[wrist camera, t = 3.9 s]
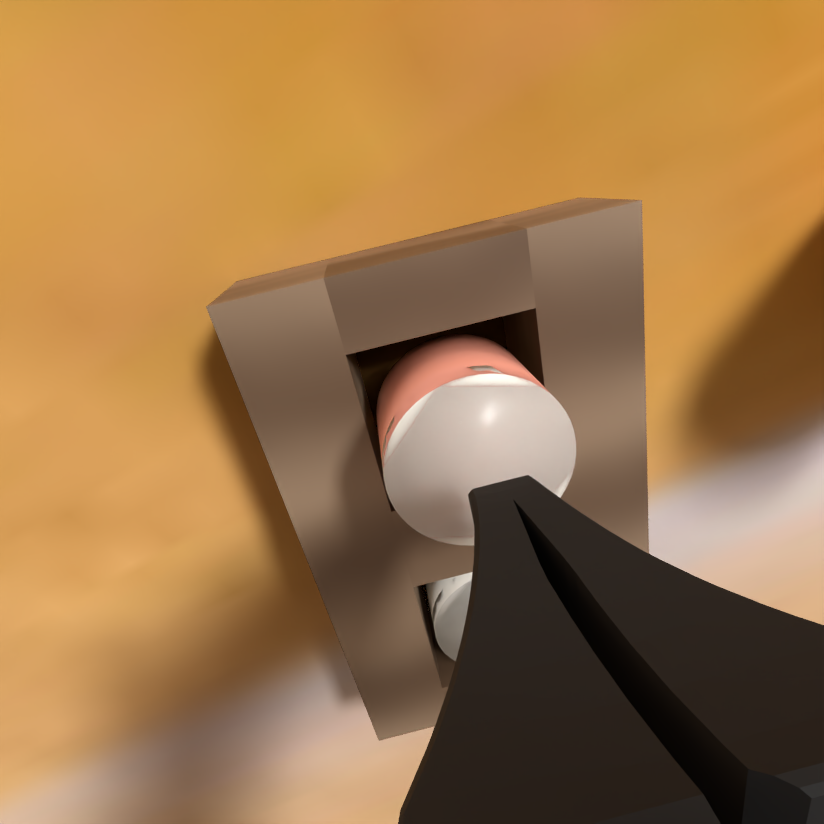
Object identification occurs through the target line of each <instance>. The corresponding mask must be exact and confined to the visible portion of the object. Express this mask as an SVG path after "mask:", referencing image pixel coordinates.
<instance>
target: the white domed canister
mask: <svg viewBox="0 0 824 824" xmlns="http://www.w3.org/2000/svg"><path fill="white" fill-rule="evenodd" d="M471 581H472V572H471V573H467V574H463V575H459V576H455V577H451V578H447V579H443V580H439V581H435V582H431V583H427V584H426V590H427V595H428V600H429V605H430V610H431V615H432V621H433V626H434V631H435V636H436V640H437V642H438V645H439V646H440V648H441V649H442V651H443V652H444V653H445V654H446V655H447V656H449V657H450V658H451V659H453V660H454V661H456V658H457V655H458V651H459V647H460V643H461V639H462V634H463V630H464V625H465V620H466V615H467V609H468V604H469V597H470V590H471Z"/></svg>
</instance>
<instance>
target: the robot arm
mask: <svg viewBox="0 0 824 824" xmlns="http://www.w3.org/2000/svg"><path fill="white" fill-rule="evenodd" d="M468 498H469V503H470V508H471V513H472V518H473V522H474V562H473V572H472V581H471V590H470V597H469V604H468V609H467V615H466V620H465V625H464V630H463V634H462V639H461V643H460V647H459V651H458V655H457V658H456V662H455V666H454V670H453V673H452V677H451V680H450V683H449V687H448V690H447V693H446V696H445V699H444V701H443V704H442V707H441V710H440V713H439V716H438V719H437V722H436V725H435V728H434V731H433V733H432V736H431V739H430V741H429V744H428V747H427V749H426V752H425V754H424V756H423V759H422V761H421V763H420V766H419V768H418V770H417V773H416V775H415V777H414V780H413V782H412V784H411V787H410V789H409V791H408V794H407V796H406V799H405V801H404V803H403V806H402V808H401V811H400V816H399V822H398V824H824V625H821V624H818V623H815V622H812V621H809V620H806V619H803V618H800V617H797V616H794V615H791V614H788V613H785V612H783V611H780V610H777V609H774V608H771V607H769V606H766V605H763V604H761V603H758V602H756V601H753V600H751V599H748V598H746V597H743V596H741V595H738V594H735V593H733V592H730V591H728V590H725V589H723V588H720V587H718V586H716V585H713V584H711V583H709V582H707V581H704V580H702V579H700V578H697V577H695V576H693V575H691V574H689V573H687V572H685V571H683V570H681V569H679V568H676V567H674V566H672V565H670V564H668V563H666V562H664V561H662V560H660V559H658V558H656V557H654V556H652V555H650V554H648V553H646V552H645V551H643V550H641V549H639V548H638V547H636V546H634V545H632V544H631V543H629V542H627V541H625V540H624V539H622V538H620V537H619V536H617V535H615V534H614V533H612V532H610V531H609V530H607V529H606V528H604V527H603V526H601V525H599V524H598V523H596V522H595V521H593V520H592V519H590V518H589V517H587V516H586V515H584V514H583V513H581V512H580V511H578V510H577V509H575V508H574V507H572V506H571V505H570V504H568V503H567V502H565V501H564V500H562V499H561V498H560V497H558V496H557V495H556V494H554V493H553V492H551V491H550V490H549V489H547V488H546V487H545V486H543V485H542V484H541V483H539V482H538V481H537V480H535V479H534V478H532V477H531V476H529V475H525V476H521V477H517V478H513V479H509V480H505V481H502V482H498V483H494V484H490V485H486V486H482V487H478V488H474V489H472V490H471V491H470V492H469V494H468Z"/></svg>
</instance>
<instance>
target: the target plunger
mask: <svg viewBox="0 0 824 824" xmlns="http://www.w3.org/2000/svg"><path fill="white" fill-rule="evenodd" d="M376 414H377V426H378V435H379V443H380V451H381V459H382V468H383V476H384V482H385V487H386V491H387V494H388V497H389V499H390V501H391V503H392V505H393V507H394V509H395V510H396V511H397V513H398V514H399V515H400V517H401V518H402V519H403V520H404V521H405V522H406V523H407V524H408V525H409V526H411V527H412V528H413V529H415V530H416V531H418V532H419V533H421V534H423V535H425V536H427V537H429V538H431V539H434V540H437V541H440V542H444V543H448V544H454V545H474V522H473V518H472V513H471V508H470V503H469V498H468V494H469V492H470V491H471V490H472V489H474V488H478V487H482V486H486V485H490V484H494V483H498V482H502V481H505V480H509V479H513V478H517V477H521V476H525V475H529V476H531V477H532V478H534V479H535V480H537V481H538V482H539V483H541V484H542V485H543V486H545V487H546V488H547V489H549V490H550V491H551V492H553V493H554V494H556V495H557V496H558V497H560V498H561V496H562V495H563V493H564V491H565V489H566V488H567V486H568V483H569V481H570V479H571V476H572V473H573V469H574V466H575V459H576V439H575V433H574V429H573V426H572V423H571V420H570V419H569V417H568V415H567V413H566V411H565V410H564V408H563V407H562V405H561V404H560V403H559V402H558V401H557V400H556V399H555V398H554V396H553V395H552V394H551V393H550V392H549V391H548V390H547V389H546V388H545V387H544V386H543V385H542V384H541V383H540V382H539V381H538V380H537V379H536V378H535V377H534V376H533V375H532V374H531V373H530V372H529V371H528V370H527V369H526V368H525V367H524V366H523V365H522V364H521V363H520V362H519V361H518V360H517V359H516V358H515V357H514V356H513V355H512V354H511V353H510V352H509V351H508V350H507V349H505V348H504V347H502V346H501V345H499V344H497V343H495V342H494V341H492V340H489V339H486V338H483V337H479V336H475V335H466V334H455V335H446V336H441V337H437V338H434V339H431V340H428V341H426V342H424V343H422V344H420V345H418V346H416V347H415V348H413V349H412V350H410V351H409V352H408V353H406V354H405V355H404V356H403V357H401V359H400V360H399V361H398V362H397V363H396V364H395V365H394V366H393V367H392V369H391V370H390V372H389V373H388V375H387V376H386V378H385V380H384V382H383V384H382V387H381V389H380V392H379V396H378V400H377V410H376Z"/></svg>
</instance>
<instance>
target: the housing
mask: <svg viewBox="0 0 824 824" xmlns="http://www.w3.org/2000/svg"><path fill="white" fill-rule="evenodd" d="M206 308H207V310H208V313H209V315H210V318H211V320H212V323H213V325H214V328H215V330H216V333H217V335H218V338H219V340H220V343H221V345H222V348H223V350H224V353H225V355H226V358H227V360H228V363H229V365H230V368H231V371H232V373H233V376H234V378H235V381H236V383H237V386H238V388H239V391H240V393H241V396H242V398H243V401H244V403H245V406H246V408H247V411H248V413H249V416H250V418H251V421H252V423H253V426H254V428H255V431H256V433H257V436H258V438H259V441H260V443H261V446H262V448H263V451H264V453H265V456H266V458H267V461H268V463H269V466H270V468H271V471H272V473H273V476H274V478H275V481H276V483H277V486H278V489H279V491H280V494H281V496H282V499H283V501H284V504H285V506H286V509H287V511H288V514H289V516H290V519H291V521H292V524H293V526H294V529H295V531H296V534H297V536H298V539H299V541H300V544H301V546H302V549H303V551H304V554H305V556H306V559H307V561H308V564H309V566H310V569H311V571H312V574H313V576H314V579H315V581H316V584H317V586H318V589H319V591H320V594H321V596H322V599H323V601H324V604H325V607H326V609H327V612H328V614H329V617H330V619H331V622H332V624H333V627H334V629H335V632H336V634H337V637H338V639H339V642H340V644H341V647H342V649H343V652H344V654H345V657H346V659H347V662H348V664H349V667H350V669H351V672H352V674H353V677H354V679H355V682H356V684H357V687H358V689H359V692H360V694H361V697H362V699H363V702H364V704H365V707H366V709H367V712H368V714H369V717H370V719H371V722H372V725H373V727H374V730H375V732H376V735H377V737H378V740H383V739H387V738H391V737H395V736H399V735H403V734H406V733H410V732H414V731H418V730H422V729H426V728H430V727H434V726H435V725H436V722H437V719H438V716H439V713H440V710H441V707H442V704H443V701H444V699H445V696H446V693H447V690H448V687H449V683H450V680H451V677H452V673H453V670H454V666H455V662H456V661H454V660H453V659H451V658H450V657H449V656H447V655H446V654H445V653H444V652H443V651H442V649H441V648H440V646H439V645H438V642H437V640H436V636H435V631H434V626H433V621H432V615H431V612H429V613H428V611H427V607H426V603H425V600H424V596H423V593H422V589H421V586H420V585H423V584H427V583H431V582H435V581H439V580H443V579H447V578H451V577H455V576H459V575H463V574H467V573H471V572H473V562H474V545H454V544H448V543H444V542H440V541H437V540H434V539H431V538H429V537H427V536H425V535H423V534H421V533H419V532H418V531H416V530H415V529H413V528H412V527H411V526H409V525H408V524H407V523H406V522H405V521H404V520H403V519H402V518H401V517H400V515H399V514H398V513H397V511H396V510H395V509H394V507H393V505H392V503H391V501H390V499H389V497H388V494H387V491H386V487H385V482H384V476H383V468H382V459H381V451H380V443H379V436H378V432H377V429H376V425H375V422H374V418H373V414H372V411H371V407H370V404H369V400H368V397H367V393H366V390H365V386H364V382H363V379H362V375H361V372H360V368H359V365H358V361H357V357H356V354H355V353H356V352H360V351H364V350H368V349H372V348H376V347H380V346H384V345H388V344H392V343H396V342H400V341H404V340H408V339H412V338H416V337H420V336H425V335H429V334H433V333H437V332H441V331H445V330H449V329H453V328H457V327H461V326H465V325H469V324H473V323H477V322H481V321H485V320H489V319H493V318H497V317H501V316H503V322H504V329H505V336H506V343H507V350H508V351H509V352H510V353H511V354H512V355H513V356H514V357H515V358H516V359H517V360H518V361H519V362H520V363H521V364H522V365H523V366H524V367H525V368H526V369H527V370H528V371H529V372H530V373H531V374H532V375H533V376H534V377H535V378H536V379H537V380H538V381H539V382H540V383H541V384H542V385H543V386H544V387H545V388H546V389H547V390H548V391H549V392H550V393H551V394H552V395H553V396H554V398H555V399H556V400H557V401H558V402H559V403H560V404H561V405H562V407H563V408H564V410H565V411H566V413H567V415H568V417H569V419H570V420H571V423H572V426H573V429H574V433H575V439H576V459H575V466H574V469H573V473H572V476H571V479H570V481H569V483H568V486H567V488H566V489H565V491H564V493H563V495H562V496H561V499H562V500H564V501H565V502H567V503H568V504H570V505H571V506H572V507H574V508H575V509H577V510H578V511H580V512H581V513H583V514H584V515H586V516H587V517H589V518H590V519H592V520H593V521H595V522H596V523H598V524H599V525H601V526H603V527H604V528H606V529H607V530H609V531H610V532H612V533H614V534H615V535H617V536H619V537H620V538H622V539H624V540H625V541H627V542H629V543H631V544H632V545H634V546H636V547H638V548H639V549H641V550H643V551H645V552H646V553H648V554H649V539H648V488H647V437H646V386H645V335H644V284H643V233H642V200H623V199H600V198H576V199H572V200H568V201H564V202H560V203H556V204H552V205H548V206H543V207H539V208H535V209H531V210H527V211H523V212H519V213H515V214H511V215H507V216H503V217H498V218H494V219H490V220H486V221H482V222H478V223H474V224H470V225H466V226H462V227H457V228H453V229H449V230H445V231H441V232H437V233H433V234H429V235H425V236H421V237H417V238H412V239H408V240H404V241H400V242H396V243H392V244H388V245H384V246H380V247H376V248H371V249H367V250H363V251H359V252H355V253H351V254H347V255H343V256H339V257H335V258H331V259H326V260H322V261H318V262H314V263H310V264H306V265H302V266H298V267H294V268H290V269H285V270H281V271H277V272H273V273H269V274H265V275H261V276H257V277H253V278H249V279H245V280H240V281H237V282H235V283H234V284H233V285H232V286H231V287H229V288H228V289H227V290H226V291H225V292H223V293H222V294H221V295H220V296H219V297H217V298H216V299H215V300H214V301H213V302H211V303H210V304H209V305H208V306H207V307H206Z"/></svg>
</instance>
